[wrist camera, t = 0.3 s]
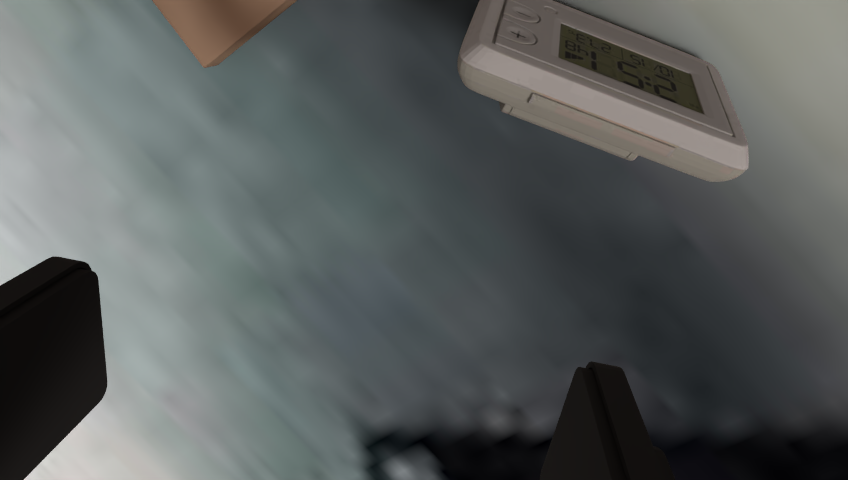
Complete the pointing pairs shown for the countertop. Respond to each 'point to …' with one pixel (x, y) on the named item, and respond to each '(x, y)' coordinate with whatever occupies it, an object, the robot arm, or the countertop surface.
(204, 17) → the console board
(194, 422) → the countertop surface
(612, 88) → the digital clock
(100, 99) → the countertop surface
